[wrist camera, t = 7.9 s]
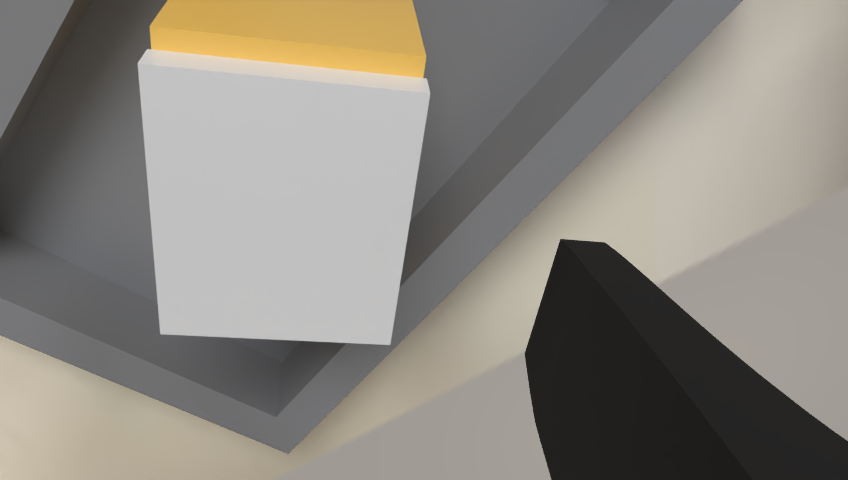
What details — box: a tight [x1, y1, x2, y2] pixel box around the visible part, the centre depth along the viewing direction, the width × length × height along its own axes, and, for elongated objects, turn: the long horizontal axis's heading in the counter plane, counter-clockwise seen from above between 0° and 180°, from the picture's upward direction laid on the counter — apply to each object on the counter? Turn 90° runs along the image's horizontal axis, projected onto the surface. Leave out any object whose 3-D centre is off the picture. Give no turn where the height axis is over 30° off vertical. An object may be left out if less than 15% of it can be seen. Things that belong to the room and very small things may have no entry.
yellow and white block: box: [138, 0, 430, 345], centre depth 12 cm, size 4×5×6 cm
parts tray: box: [0, 0, 743, 454], centre depth 14 cm, size 10×16×2 cm, turn 141°
